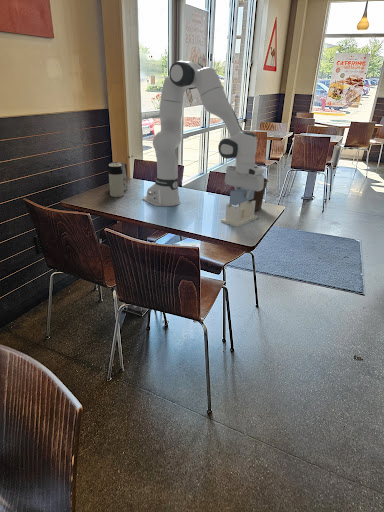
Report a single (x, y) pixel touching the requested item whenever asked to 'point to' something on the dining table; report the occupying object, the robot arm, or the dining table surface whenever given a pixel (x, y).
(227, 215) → the display stand
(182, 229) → the dining table surface
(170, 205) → the robot arm
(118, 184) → the travel mug
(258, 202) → the plant pot
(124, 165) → the coffee box
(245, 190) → the blue-grey block
